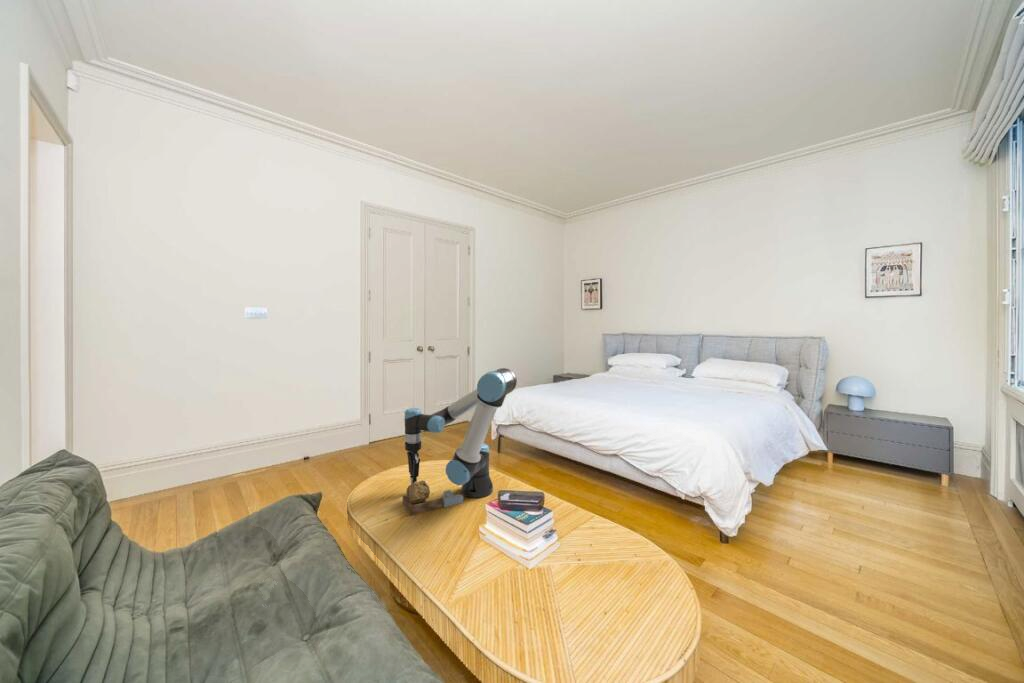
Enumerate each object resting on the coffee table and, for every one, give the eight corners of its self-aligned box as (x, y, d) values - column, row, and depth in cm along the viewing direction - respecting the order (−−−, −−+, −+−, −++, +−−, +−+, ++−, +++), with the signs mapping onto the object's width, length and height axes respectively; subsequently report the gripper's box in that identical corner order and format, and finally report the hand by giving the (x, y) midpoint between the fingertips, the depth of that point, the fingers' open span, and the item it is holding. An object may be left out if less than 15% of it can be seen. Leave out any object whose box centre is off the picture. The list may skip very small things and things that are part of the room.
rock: (405, 499, 182) (404, 478, 181) (427, 495, 186) (427, 474, 185) (409, 511, 171) (408, 488, 170) (433, 506, 175) (432, 484, 174)
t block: (455, 494, 186) (455, 488, 186) (463, 502, 178) (463, 496, 178) (437, 499, 182) (437, 492, 181) (444, 507, 174) (444, 501, 174)
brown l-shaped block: (434, 495, 185) (434, 488, 185) (443, 506, 175) (443, 499, 174) (402, 503, 178) (402, 495, 178) (410, 515, 167) (409, 507, 167)
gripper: (401, 438, 190) (402, 485, 192) (409, 446, 178) (410, 496, 180) (416, 435, 193) (417, 482, 195) (425, 443, 182) (425, 492, 184)
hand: (413, 489), depth 188 cm, fingers closed
